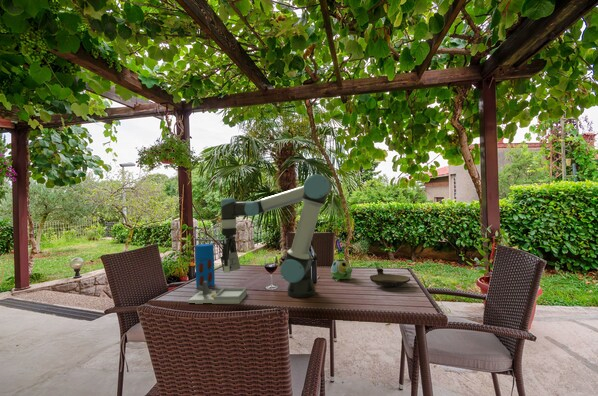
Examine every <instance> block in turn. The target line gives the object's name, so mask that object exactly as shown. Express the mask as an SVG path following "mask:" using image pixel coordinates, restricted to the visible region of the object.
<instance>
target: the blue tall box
mask: <svg viewBox="0 0 598 396" xmlns="http://www.w3.org/2000/svg"><path fill="white" fill-rule="evenodd" d="M194 252H195V253H194V255H195V257H194V259H195V284H196V288H197V287H198V286H199V285H201V286H203V283H202V282H204V281H207V284H208V288H209V289H211V288H213V287H214V286H215V281H216V280H215V277H216V276H215V275H216V274H215V248H214V244H213V243H201V244H196V245H195V246H194Z"/></svg>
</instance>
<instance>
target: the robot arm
mask: <svg viewBox="0 0 598 396" xmlns="http://www.w3.org/2000/svg"><path fill="white" fill-rule="evenodd" d="M332 185H333V184H332V182H331V180H330V179H329V178H328V177H326V176H325V175H322V174H320V173H316V174H312V175H309V176H308V177H307V178H306V179H305V180H304V183H303V185H302V186H298V187H295V188H292V189H289V190H286V191H283V192H280V193H279V192H278V193H276V194H274V195H270V196H266V197H264V198H261V199H257V200H254V201H253V200H251V201H250V200H249V201H236V198H235V197H229V198H228V197H227V198H221V200H220V201H221V202H220V205H221V206H220V209H221V210H220V213H221V221H220V223H221V235H222V236H224V238H223V239H222V252H221V257H222V260H224V263H223V264H224V271H223V273H225V274H226V273H230V272H231V271H230V266H229V253H233V252H237V243H236V236H237V217H253V216H257V215H261V214H262V213H267V212H270V211H273V210H276V209H280V208H283V207H286V206H289V205H293V204H296V203H299V202H302V201H303V205H302V209H301V213H300V216H299V219H298V223H297V227H296V230H295V234H294V236H293V241H292V244H291V248H290V249H288V250H287V251H286V254H285V259H284V261H283V262H282V263H281V266H280V270H279V271H280V276H281V277H282V278H283V280H285V281H287V283H288V287H287V291H286V293H287V295H288V296H289V297H292V298H302V299H303V298H308V297H312V296H314V295H315V294H316V287H315V284H314V281H313V278H312V276H313V275H312V271H313V270H312V253H311V251H310V247H311V243H312V240H313V237H314V233H315V229H316V225H317V222H318V219H319V215H320V212H321V208H322V207H324V206H325V204H326V202H327V200H328V199H327V198H328V196H329V195H330V194H331V192H332V189H333V187H332ZM237 253H238V252H237Z"/></svg>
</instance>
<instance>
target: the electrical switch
mask: <svg viewBox="0 0 598 396" xmlns="http://www.w3.org/2000/svg"><path fill="white" fill-rule="evenodd" d="M219 259H220V261H221V266H222V272H224V260H222V256H219ZM240 265H241V264H240V260H239V256H238V252H233V253H230V252H229V266H230V272H234V271H238V270H240V269H241V266H240Z"/></svg>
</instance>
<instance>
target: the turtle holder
mask: <svg viewBox="0 0 598 396" xmlns="http://www.w3.org/2000/svg"><path fill="white" fill-rule="evenodd" d="M331 264H332V265H331V268H330V272H331V273H330V275H331V278H332V279H334V281H335V280H337V281H336V282H339V281H340V279H341V280H345V279H346V280H349V279H351V278H352V272H353V269H352V267H351V265H350V263H349V262H348V261H347V260H346V259H343V258H339V259H335V260H334V261H333V262H332V263H331ZM351 280H352V279H351Z"/></svg>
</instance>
